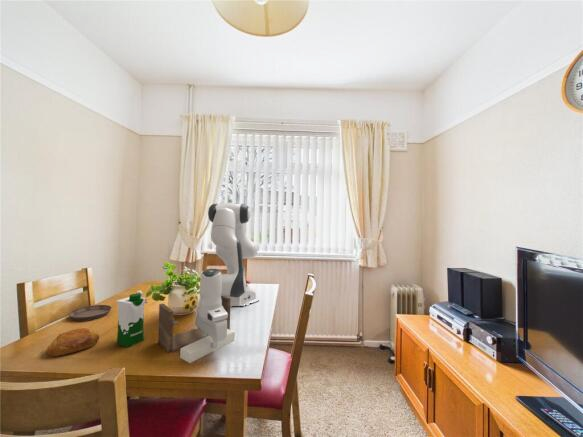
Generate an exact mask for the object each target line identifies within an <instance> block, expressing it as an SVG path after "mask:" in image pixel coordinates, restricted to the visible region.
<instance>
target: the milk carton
mask: <svg viewBox="0 0 583 437" xmlns="http://www.w3.org/2000/svg"><path fill="white" fill-rule="evenodd" d="M145 301H146V297H144V296H143V297H142V296H141V294H136V293H133V294H132V293H131V294H129V296H128V297H125V298H120V299H117V300H116V306H117V314H118V315H117V317H118V318H117V336H116V344H117V345H120V346H124V347H126V348H129V347H131V346H134V345H135V344H138V343H140V342H142V341H144V340H145V339H144V338H145V337H144V334H145V333H144V331H145V330H144V322H145V321H144V319H145V318H144V317H145V314H144V312H145V304H146V303H145Z"/></svg>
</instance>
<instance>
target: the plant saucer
mask: <svg viewBox="0 0 583 437" xmlns="http://www.w3.org/2000/svg"><path fill="white" fill-rule="evenodd" d="M111 310H112V306H111V305H107V304H96V305H95V304H92V305H87V306H82V307H78V308H76V309H74V310H71V311H70V312H69V313H68V315H69V317H70V318H71V319H73V320H74V321H78V322H81V321H82V322H85V321H93V320H97V319H100V318H103V317H104V316H106V315H108V314H109V313H110V311H111Z"/></svg>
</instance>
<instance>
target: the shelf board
mask: <svg viewBox="0 0 583 437" xmlns="http://www.w3.org/2000/svg"><path fill="white" fill-rule="evenodd" d="M235 333H236V332H235V331H233V330H231V329H230V330H229V329H227V336H226V338H225V340H222V341H219V342H218V343H217V348H215V349H213V348H212V347H211V346H212V345H211V343H213V338H212V337H210V336H207V337H205V338H202V339H200V340H198V341H196V342H194V343H191V344H189V345H187V346H185V347H182V348H181V349H179V350H180V352H179V354H180V355H179V358H180V359H181V360H183V361H186V362H187V363H189V364H191V363H194V362H196V361H197V360H199V359H201V358H203V357H205V356H207V355H209V354H211V353H213V352H214V351H216V350H218V349H220V348H222V347H224V346H226V345H228V344H230V343H232V342H233V340H234V341H235V338H236V337H235V336H236V334H235ZM231 341H232V342H231Z"/></svg>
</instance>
